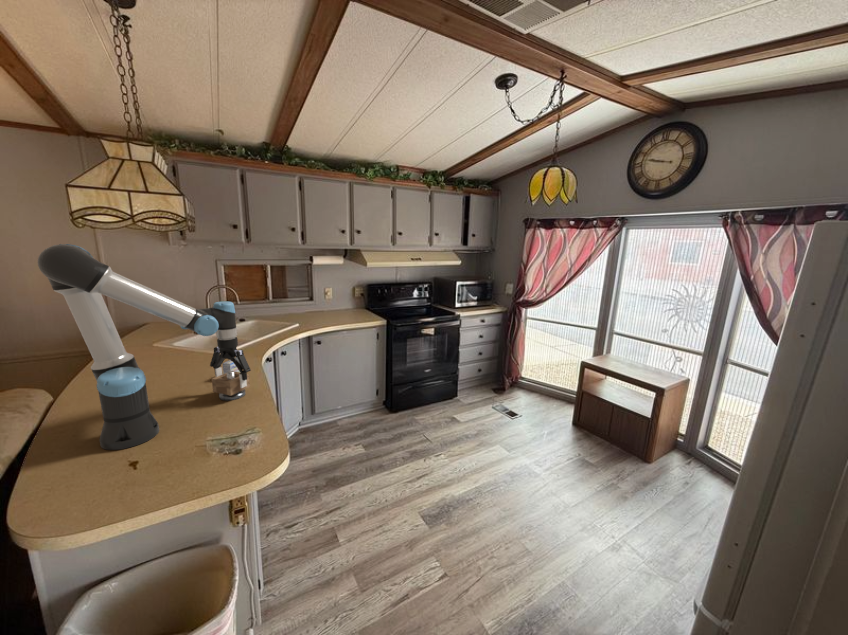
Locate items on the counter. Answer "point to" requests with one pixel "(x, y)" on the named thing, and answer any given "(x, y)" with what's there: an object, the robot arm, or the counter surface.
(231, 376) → the post stand
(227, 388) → the light wood square frame
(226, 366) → the medicine box
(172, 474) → the counter surface
